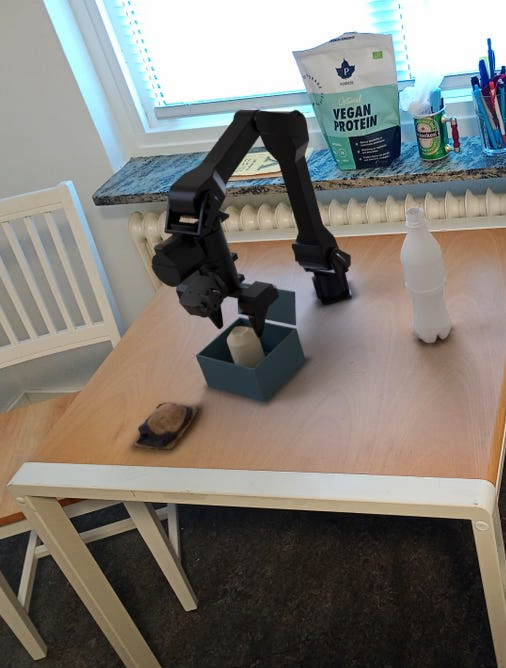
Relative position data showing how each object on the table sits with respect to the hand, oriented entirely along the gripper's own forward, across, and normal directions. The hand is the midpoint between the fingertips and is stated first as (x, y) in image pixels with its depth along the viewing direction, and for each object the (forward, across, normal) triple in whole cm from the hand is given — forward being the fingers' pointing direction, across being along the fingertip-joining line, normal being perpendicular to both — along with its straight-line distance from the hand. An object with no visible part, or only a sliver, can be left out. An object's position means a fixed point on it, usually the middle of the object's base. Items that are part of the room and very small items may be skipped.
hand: (240, 332), depth 128 cm
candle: (+10, 0, 0) cm, 10 cm away
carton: (+10, 0, 0) cm, 10 cm away
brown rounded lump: (+10, -6, -17) cm, 21 cm away
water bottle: (+10, +26, +21) cm, 35 cm away
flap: (-1, 0, +8) cm, 8 cm away
